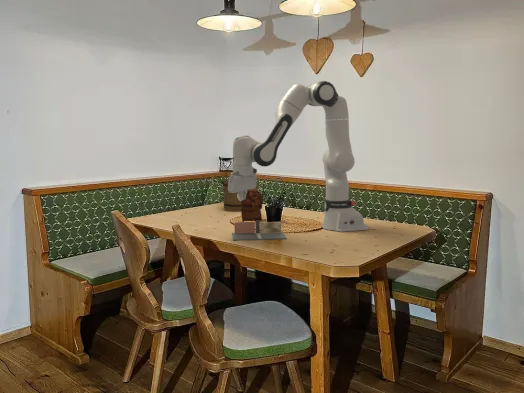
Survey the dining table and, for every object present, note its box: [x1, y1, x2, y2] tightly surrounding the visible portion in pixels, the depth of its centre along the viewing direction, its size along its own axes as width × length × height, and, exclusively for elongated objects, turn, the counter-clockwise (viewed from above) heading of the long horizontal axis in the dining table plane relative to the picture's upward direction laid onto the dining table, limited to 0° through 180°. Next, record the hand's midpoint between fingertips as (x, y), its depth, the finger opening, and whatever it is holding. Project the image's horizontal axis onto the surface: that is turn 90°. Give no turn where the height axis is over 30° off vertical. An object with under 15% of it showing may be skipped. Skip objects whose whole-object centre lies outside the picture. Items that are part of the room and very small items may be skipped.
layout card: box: [231, 230, 287, 241], centre depth 219 cm, size 24×13×1 cm, turn 96°
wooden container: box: [223, 178, 242, 213], centre depth 285 cm, size 15×15×22 cm
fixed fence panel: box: [255, 220, 282, 233], centre depth 223 cm, size 12×2×6 cm, turn 96°
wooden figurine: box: [240, 187, 263, 222], centre depth 253 cm, size 12×6×18 cm, turn 134°
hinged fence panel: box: [234, 221, 256, 233], centre depth 222 cm, size 10×1×5 cm, turn 96°
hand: (242, 200), depth 225 cm, fingers closed
